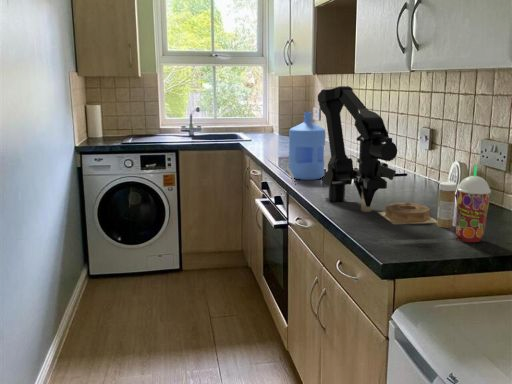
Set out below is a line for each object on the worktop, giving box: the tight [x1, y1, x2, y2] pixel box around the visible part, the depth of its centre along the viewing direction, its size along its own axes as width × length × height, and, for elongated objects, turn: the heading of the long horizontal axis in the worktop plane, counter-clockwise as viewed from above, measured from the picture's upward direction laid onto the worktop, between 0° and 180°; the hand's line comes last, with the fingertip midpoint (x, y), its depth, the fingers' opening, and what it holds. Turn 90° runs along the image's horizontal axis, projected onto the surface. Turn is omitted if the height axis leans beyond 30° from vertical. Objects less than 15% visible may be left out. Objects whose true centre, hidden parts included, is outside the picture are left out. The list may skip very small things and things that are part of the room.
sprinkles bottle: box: [436, 181, 458, 229], centre depth 145 cm, size 5×5×14 cm
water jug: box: [288, 111, 326, 181], centre depth 222 cm, size 16×16×28 cm
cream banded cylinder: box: [360, 194, 373, 213], centre depth 162 cm, size 3×3×8 cm
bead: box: [384, 202, 431, 223], centre depth 155 cm, size 12×12×3 cm
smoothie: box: [455, 165, 492, 243], centre depth 135 cm, size 8×8×20 cm
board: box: [377, 211, 437, 225], centre depth 155 cm, size 14×14×1 cm
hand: (366, 205), depth 163 cm, fingers closed on cream banded cylinder, 3 cm apart
